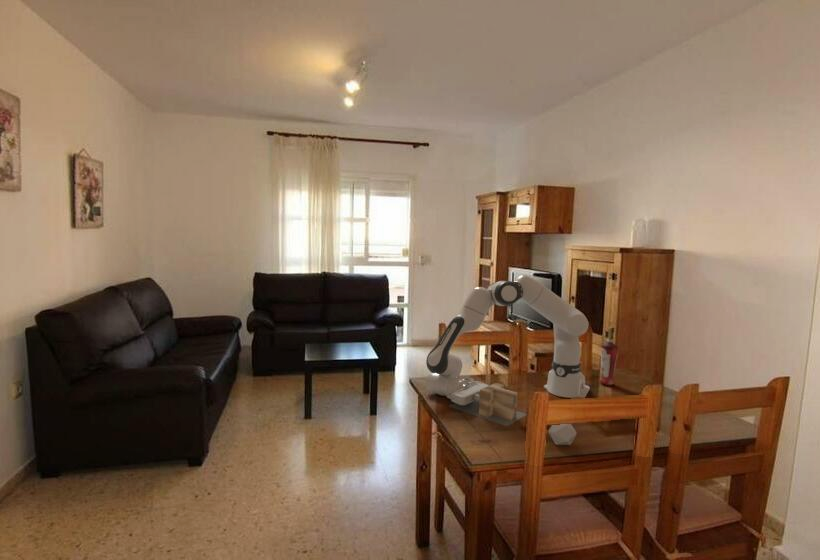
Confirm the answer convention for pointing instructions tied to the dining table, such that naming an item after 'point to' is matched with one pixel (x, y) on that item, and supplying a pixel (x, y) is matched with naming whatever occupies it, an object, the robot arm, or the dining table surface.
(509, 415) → the t block
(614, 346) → the liquor
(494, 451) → the dining table surface
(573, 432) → the die
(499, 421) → the t mat
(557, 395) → the robot arm
